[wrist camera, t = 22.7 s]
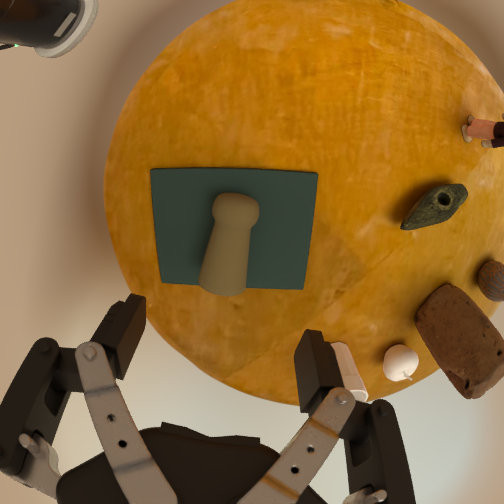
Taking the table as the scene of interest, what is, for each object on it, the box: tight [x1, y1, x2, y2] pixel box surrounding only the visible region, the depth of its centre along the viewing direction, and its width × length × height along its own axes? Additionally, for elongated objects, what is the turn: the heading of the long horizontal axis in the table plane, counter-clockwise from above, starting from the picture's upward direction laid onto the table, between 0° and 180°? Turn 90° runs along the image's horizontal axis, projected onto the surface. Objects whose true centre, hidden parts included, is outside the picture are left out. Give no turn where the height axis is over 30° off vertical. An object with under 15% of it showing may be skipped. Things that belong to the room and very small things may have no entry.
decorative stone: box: [400, 184, 468, 230], centre depth 30 cm, size 11×8×5 cm
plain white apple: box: [383, 345, 419, 381], centre depth 41 cm, size 7×7×8 cm
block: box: [415, 284, 504, 399], centre depth 31 cm, size 11×8×20 cm
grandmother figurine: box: [462, 113, 504, 148], centre depth 21 cm, size 8×4×13 cm, turn 150°
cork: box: [198, 193, 259, 296], centre depth 31 cm, size 6×6×11 cm
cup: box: [331, 342, 368, 402], centre depth 40 cm, size 7×7×11 cm
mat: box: [150, 167, 318, 290], centre depth 34 cm, size 20×16×1 cm
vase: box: [478, 261, 504, 302], centre depth 33 cm, size 7×7×9 cm
